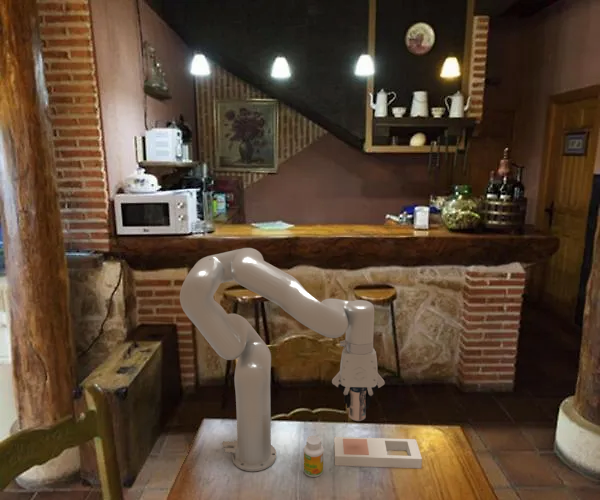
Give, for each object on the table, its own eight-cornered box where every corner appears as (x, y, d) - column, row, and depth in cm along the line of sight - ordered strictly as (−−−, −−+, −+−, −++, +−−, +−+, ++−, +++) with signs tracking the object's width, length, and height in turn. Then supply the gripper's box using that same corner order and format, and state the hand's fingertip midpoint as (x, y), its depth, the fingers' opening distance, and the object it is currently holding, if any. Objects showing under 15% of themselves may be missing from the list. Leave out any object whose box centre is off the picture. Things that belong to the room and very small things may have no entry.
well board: (334, 465, 136) (335, 455, 135) (334, 445, 144) (334, 436, 144) (421, 468, 135) (422, 458, 134) (415, 448, 143) (415, 438, 143)
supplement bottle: (300, 474, 132) (301, 443, 130) (307, 462, 137) (307, 432, 134) (319, 479, 130) (320, 447, 128) (325, 467, 135) (326, 436, 133)
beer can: (365, 423, 134) (366, 383, 131) (347, 421, 135) (348, 382, 132) (366, 413, 139) (367, 375, 136) (349, 411, 140) (350, 373, 137)
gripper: (328, 350, 129) (327, 412, 133) (392, 352, 128) (389, 413, 132) (327, 339, 136) (327, 398, 140) (388, 340, 135) (386, 399, 139)
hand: (357, 405), depth 136 cm, fingers closed on beer can, 4 cm apart
